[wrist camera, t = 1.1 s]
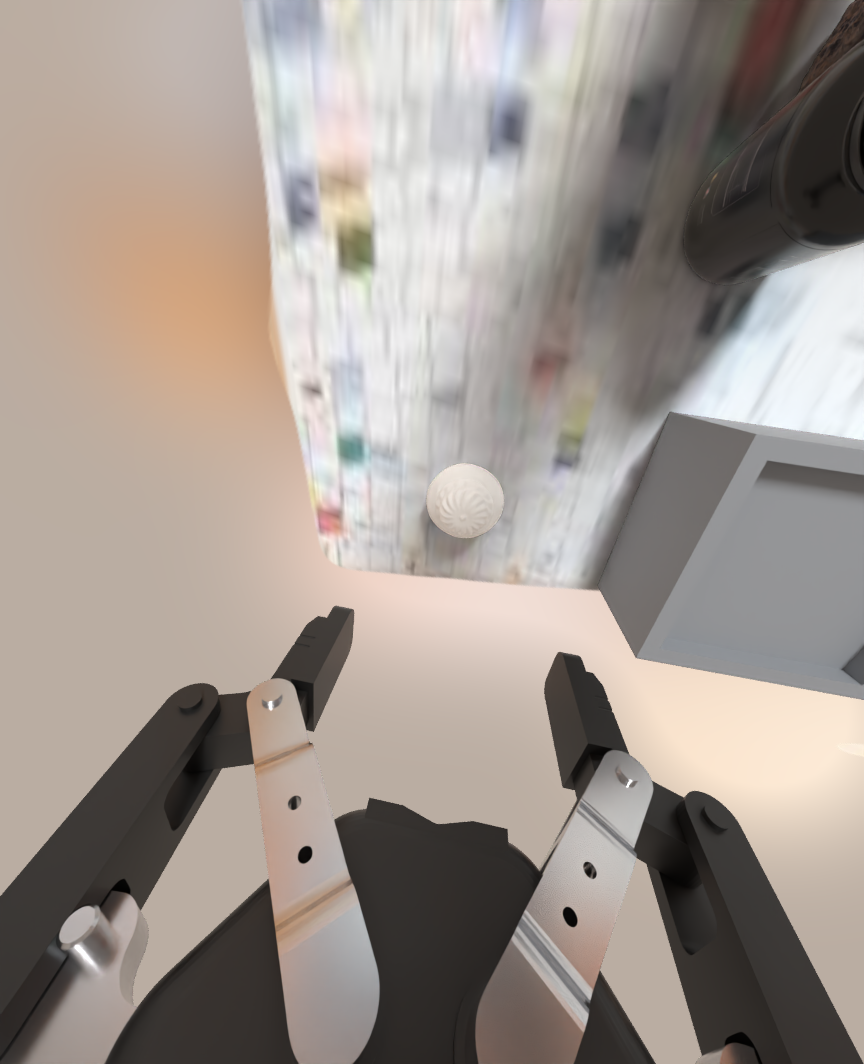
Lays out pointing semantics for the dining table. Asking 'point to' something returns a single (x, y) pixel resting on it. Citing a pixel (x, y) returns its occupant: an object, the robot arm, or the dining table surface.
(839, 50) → the perforated stone tool
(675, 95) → the dining table surface
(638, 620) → the grey square open box
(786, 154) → the supplement bottle
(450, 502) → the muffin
